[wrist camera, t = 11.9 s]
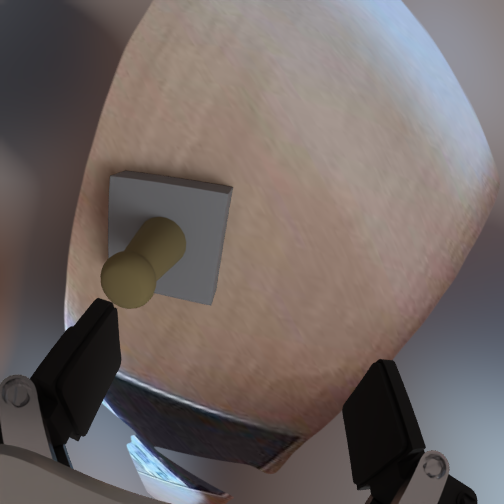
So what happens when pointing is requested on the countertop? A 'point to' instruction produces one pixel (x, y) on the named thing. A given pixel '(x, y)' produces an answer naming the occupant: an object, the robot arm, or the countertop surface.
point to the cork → (143, 263)
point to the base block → (184, 215)
